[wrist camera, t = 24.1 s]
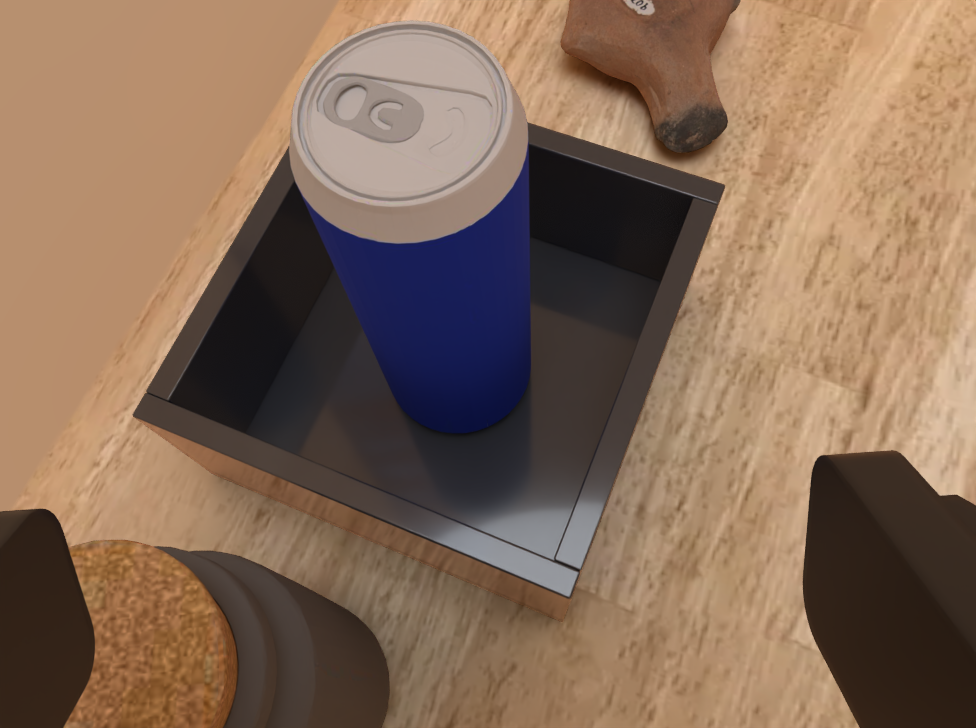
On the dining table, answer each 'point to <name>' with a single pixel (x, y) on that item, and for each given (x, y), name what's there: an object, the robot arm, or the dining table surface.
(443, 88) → the beverage can
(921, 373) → the dining table surface
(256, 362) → the open box
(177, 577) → the bottle
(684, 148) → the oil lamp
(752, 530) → the dining table surface
